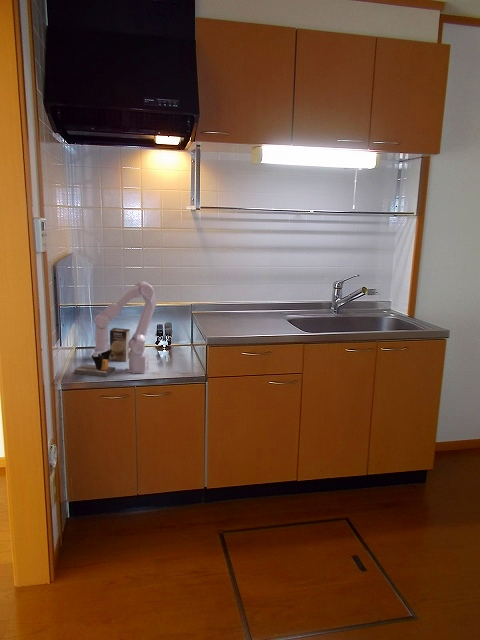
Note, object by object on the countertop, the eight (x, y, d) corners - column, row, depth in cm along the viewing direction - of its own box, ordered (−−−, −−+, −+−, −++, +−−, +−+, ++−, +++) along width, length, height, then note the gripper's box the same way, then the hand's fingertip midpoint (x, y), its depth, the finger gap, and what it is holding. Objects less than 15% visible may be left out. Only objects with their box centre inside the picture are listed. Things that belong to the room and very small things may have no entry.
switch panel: (113, 371, 246) (113, 367, 245) (106, 376, 238) (106, 372, 237) (82, 368, 248) (82, 364, 248) (74, 373, 240) (74, 369, 240)
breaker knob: (108, 368, 243) (108, 359, 242) (105, 370, 240) (105, 361, 239) (100, 367, 244) (100, 358, 243) (97, 369, 241) (97, 360, 240)
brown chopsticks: (115, 369, 249) (115, 367, 249) (113, 370, 247) (113, 368, 247) (85, 366, 252) (85, 364, 251) (83, 367, 249) (83, 365, 249)
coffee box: (109, 360, 263) (108, 330, 259) (113, 356, 269) (113, 327, 266) (126, 361, 262) (126, 331, 259) (130, 358, 268) (130, 328, 265)
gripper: (100, 335, 246) (100, 361, 249) (86, 342, 232) (87, 370, 235) (114, 336, 245) (114, 363, 248) (101, 344, 231) (101, 372, 234)
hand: (102, 367), depth 242 cm, fingers open, 6 cm apart
